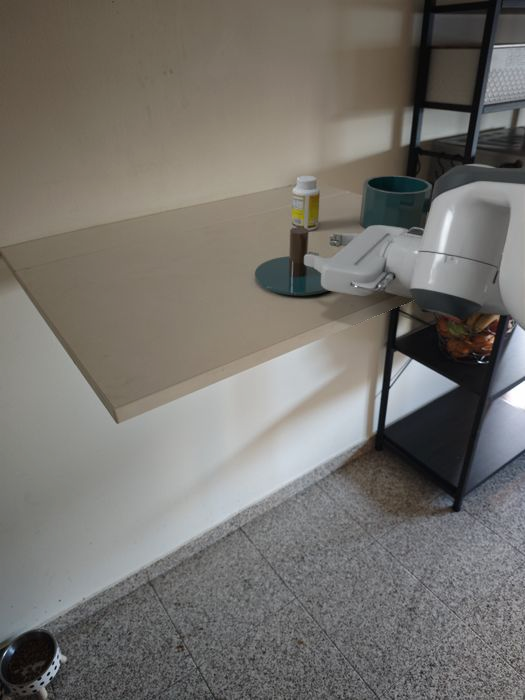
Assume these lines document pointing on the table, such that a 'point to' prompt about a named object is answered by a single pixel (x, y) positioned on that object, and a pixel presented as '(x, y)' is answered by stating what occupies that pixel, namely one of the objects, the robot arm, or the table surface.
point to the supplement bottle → (305, 203)
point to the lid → (291, 269)
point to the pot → (395, 202)
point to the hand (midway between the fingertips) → (319, 248)
